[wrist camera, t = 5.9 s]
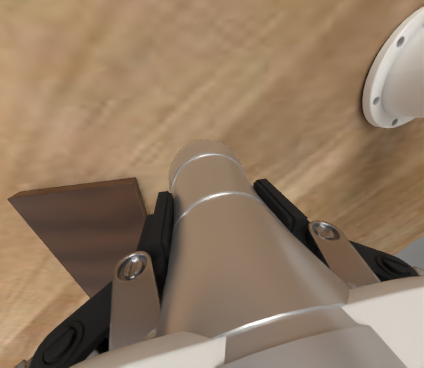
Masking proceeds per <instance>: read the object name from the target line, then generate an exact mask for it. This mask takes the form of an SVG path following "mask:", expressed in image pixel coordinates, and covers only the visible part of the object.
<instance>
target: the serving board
mask: <svg viewBox="0 0 424 368" xmlns="http://www.w3.org/2000/svg"><path fill="white" fill-rule="evenodd" d="M8 201H9V202H10V203H11V204H12V205H13V207H14V208H15V209H16V210H17V211H18V213H19V214H20V215H21V216H22V217H23V219H24V220H25V221H26V222H27V223H28V225H29V226H30V227H31V228H32V229H33V230H34V232H35V233H36V234H37V235H38V236H39V238H40V239H41V240H42V241H43V242H44V244H45V245H46V246H47V247H48V248H49V250H50V251H51V252H52V253H53V254H54V256H55V257H56V258H57V259H58V260H59V261H60V263H61V264H62V265H63V266H64V267H65V269H66V270H67V271H68V272H69V273H70V275H71V276H72V277H73V278H74V279H75V281H76V282H77V283H78V284H79V285H80V287H81V288H82V289H83V290H84V291H85V292H86V294H87V295H88V296H89V297H90V298H92V297H93V296H94V295H95V294H97V293H98V292H99V291H100V290H101V289H102V288H104V287H105V286H106V285H107V284H108V283H110V282H111V281H112V275H113V270H114V268H115V267H116V265H117V264H118V262H119V261H120V260H121V259H123V258H124V257H125V256H127V255H129V254H130V253H133V252H136V250H137V246H138V243H139V239H140V236H141V233H142V229H143V226H144V223H145V219H146V216H147V212H146V209H145V206H144V202H143V199H142V196H141V193H140V190H139V187H138V184H137V181H136V178H128V179H120V180H112V181H104V182H95V183H87V184H79V185H71V186H63V187H55V188H46V189H38V190H30V191H22V192H19V193H17V194H15V195H13V196H12V197H10V198H8Z"/></svg>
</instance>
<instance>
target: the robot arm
mask: <svg viewBox="0 0 424 368" xmlns="http://www.w3.org/2000/svg"><path fill="white" fill-rule="evenodd" d="M362 105H363V112H364V115H365V118H366V119H367V120H368V122H369V123H370V124H372V125H373V126H377V127H383V128H393V127H397V126H400V125H403V124H405V123H407V122H409V121H411V120H413V119H414V118H415V117H421V118H424V6H423V7H422V8H420V9H418V10H417V11H415V12H414V13H413V14H412V15H410V16H409V17H408V18H407V19H405V20H404V21H403V22H402V23H401V24H400V26H399V27H398V28H397V29H396V30H395V31H394V32H393V33H392V35H391V36H390V37H389V38H388V40H387V41H386V42H385V44H384V45H383V47H382V48H381V50H380V52H379V53H378V55H377V56H376V58H375V60H374V62H373V64H372V66H371V69H370V71H369V74H368V76H367V79H366V82H365V86H364V91H363V99H362ZM253 189H254V190H255V192H256V193H257V195H258V196H259V197H260V199H261V200H262V201H263V202H264V203H265V204H266V205H267V207H268V208H269V209H270V210H271V211H272V212H273V213H274V214H275V215H276V216H277V218H278V219H279V220H280V221H281V222H282V223H283V224H284V225H285V227H286V228H287V229H288V230H289V231H290V232H291V233H292V234H293V235H294V236H295V237H296V238H297V239H298V240H299V241H300V242H301V243H302V244H303V245H304V246H306V247H307V248H308V249H309V250H310V251H311V252H312V253H313V254H314V255H315V256H316V257H317V258H318V259H319V260H321V261H322V262H323V263H324V264H325V265H326V266H327V267H328V268H329V269H330V270H331V271H332V272H333V273H334V274H335V275H337V276H338V277H339V278H340V279H341V280H342V281H343V282H344V283H345V284H346V285H347V286H348V287H349V288H350V289H349V290H348V292H349V294H350V295H349V298H348V302H347V304H345V305H342V306H340V307H341V308H342V309H343V310H344V311H345V312H346V313H347V314H348V315H349V316H350V317H351V318H352V319H353V320H354V321H355V322H356V323H357V324H358V325H359V326H371V327H372V328H373V329H374V331H375V332H376V333H377V334H378V335H379V336H380V337H381V338H382V339H383V341H384V342H385V343H386V344H387V345H388V346H389V347H390V348H391V350H392V351H393V352H394V353H395V354H396V355H397V356H398V357H399V358H400V360H401V361H402V362H403V363H404V364H405V365H406V366H407V367H408V368H424V269H420V268H417V267H413V268H412V267H411V266H410V265H408V264H407V263H405V262H404V261H402V260H401V259H399V258H397V257H395V256H392V255H390V254H387V253H384V252H381V251H378V250H375V249H373V248H370V247H367V246H364V245H361V244H358V243H355V242H352V241H349V240H348V239H347V238H346V237H345V235H344V234H343V233H342V232H341V231H340V230H339V229H338V228H337V227H336V226H334V225H332V224H330V223H327V222H324V221H312V222H309V221H308V220H307V217H306V216H305V215H304V214H303V213H302V212H301V211H300V210H299V209H298V208H297V207H296V206H294V205H293V204H292V203H291V202H290V201H289V200H288V199H287V198H286V197H285V196H284V195H283V194H282V193H281V192H279V191H278V190H277V189H276V188H275V187H274V186H273V185H272V184H271V183H270V182H269V181H268V180H267V179H260V180H257V181H256V182H254V186H253ZM173 226H174V204H173V195H172V193H169V192H168V191H165V192H159V194H158V198H157V202H156V206H155V211H154V214H150V215H147V216H146V219H145V223H144V226H143V229H142V233H141V236H140V239H139V243H138V246H137V250H136V252H133V253H130V254H129V255H127V256H125V257H124V258H123V259H121V260H120V261H119V262H118V264H117V265H116V267H115V268H114V270H113V275H112V281H111V282H110V283H108V284H107V285H106V286H105V287H104V288H102V289H101V290H100V291H99V292H98V293H97V294H95V295H94V296H93V297H92V298H91V299H89V300H88V301H87V302H86V303H85V304H83V305H82V306H81V307H80V308H79V309H78V310H76V311H75V312H74V313H73V314H72V315H70V316H69V317H68V318H67V319H66V320H64V321H63V322H62V323H61V324H60V325H59V326H57V327H56V328H55V329H54V330H53V331H52V332H51V333H50V334H49V335H48V336H47V337H46V338H45V339H44V341H43V342H42V343H41V344H40V346H39V347H38V349H37V350H36V352H35V354H34V356H33V357H32V358H31V359H29V360H28V361H25V360H23V361H21V362H20V363H19V364H18V365H16V366H15V367H14V368H218V367H220V366H223V365H224V359H225V343H226V336H222V337H217V338H211V339H210V338H208V337H205V336H201V335H198V334H194V333H190V332H185V331H179V332H175V333H171V334H168V335H164V336H160V337H157V338H155V336H156V330H157V326H158V321H159V316H160V312H161V298H162V294H163V289H164V285H165V281H166V276H167V272H168V264H169V256H170V248H171V241H172V233H173Z"/></svg>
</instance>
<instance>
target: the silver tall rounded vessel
mask: <svg viewBox="0 0 424 368" xmlns="http://www.w3.org/2000/svg"><path fill="white" fill-rule="evenodd" d="M169 185H170V192H171V193H172V195H173V204H174V226H173V233H172V241H171V248H170V256H169V264H168V272H167V276H166V281H165V285H164V289H163V294H162V298H161V312H160V316H159V321H158V326H157V330H156V336H155V338H157V337H160V336H164V335H168V334H171V333H175V332H179V331H185V332H190V333H194V334H198V335H201V336H205V337H208V338H210V339H211V338H217V337H222V336H226V343H225V359H224V365H223V366H220V367H218V368H408V367H407V366H406V365H405V364H404V363H403V362H402V361H401V360H400V358H399V357H398V356H397V355H396V354H395V353H394V352H393V351H392V350H391V348H390V347H389V346H388V345H387V344H386V343H385V342H384V341H383V339H382V338H381V337H380V336H379V335H378V334H377V333H376V332H375V331H374V329H373V328H372V327H371V326H359V325H358V324H357V323H356V322H355V321H354V320H353V319H352V318H351V317H350V316H349V315H348V314H347V313H346V312H345V311H344V310H343V309H342V308H341V307H340V306H342V305H345V304H347V302H348V298H349V295H350V294H349V292H348V290H349V289H350V288H349V287H348V286H347V285H346V284H345V283H344V282H343V281H342V280H341V279H340V278H339V277H338V276H337V275H335V274H334V273H333V272H332V271H331V270H330V269H329V268H328V267H327V266H326V265H325V264H324V263H323V262H322V261H321V260H319V259H318V258H317V257H316V256H315V255H314V254H313V253H312V252H311V251H310V250H309V249H308V248H307V247H306V246H304V245H303V244H302V243H301V242H300V241H299V240H298V239H297V238H296V237H295V236H294V235H293V234H292V233H291V232H290V231H289V230H288V229H287V228H286V227H285V225H284V224H283V223H282V222H281V221H280V220H279V219H278V218H277V216H276V215H275V214H274V213H273V212H272V211H271V210H270V209H269V208H268V207H267V205H266V204H265V203H264V202H263V201H262V200H261V199H260V197H259V196H258V195H257V193H256V192H255V190H254V189H253V187H252V185H251V184H250V182H249V180H248V179H247V177H246V175H245V172H244V169H243V166H242V164H241V162H240V161H239V159H238V157H237V155H236V154H235V153H234V152H233V150H232V149H230V148H229V147H228V146H226V145H224V144H222V143H220V142H217V141H214V140H209V139H200V140H196V141H193V142H191V143H189V144H187V145H186V146H184V147H183V148H182V149H181V150H180V151H179V152H178V154H177V155H176V156H175V158H174V160H173V162H172V163H171V166H170V170H169Z"/></svg>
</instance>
